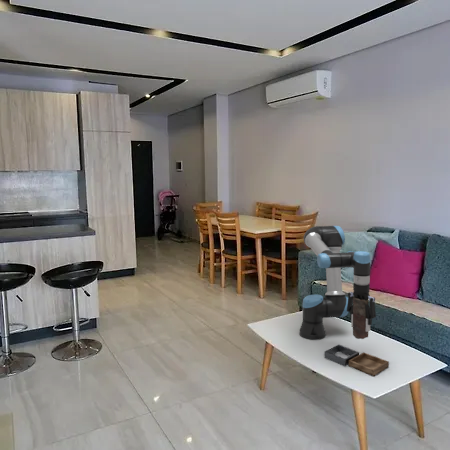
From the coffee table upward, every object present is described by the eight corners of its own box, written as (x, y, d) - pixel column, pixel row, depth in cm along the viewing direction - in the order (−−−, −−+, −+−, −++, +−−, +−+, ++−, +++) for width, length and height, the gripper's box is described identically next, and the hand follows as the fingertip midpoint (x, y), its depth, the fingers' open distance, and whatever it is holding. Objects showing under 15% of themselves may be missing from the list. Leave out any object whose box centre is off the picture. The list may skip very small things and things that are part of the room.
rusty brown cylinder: (350, 333, 201) (350, 295, 199) (364, 333, 202) (365, 294, 199) (356, 339, 194) (356, 299, 191) (370, 339, 194) (371, 299, 192)
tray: (348, 366, 198) (348, 360, 198) (363, 357, 207) (363, 352, 206) (373, 376, 188) (374, 370, 187) (388, 367, 196) (388, 361, 196)
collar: (324, 357, 208) (324, 351, 207) (338, 350, 215) (338, 344, 215) (345, 366, 198) (345, 359, 198) (359, 358, 206) (359, 352, 205)
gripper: (339, 280, 200) (338, 324, 203) (376, 288, 184) (375, 336, 187) (348, 278, 205) (347, 321, 207) (384, 286, 189) (383, 332, 191)
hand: (360, 328), depth 197 cm, fingers closed on rusty brown cylinder, 7 cm apart
